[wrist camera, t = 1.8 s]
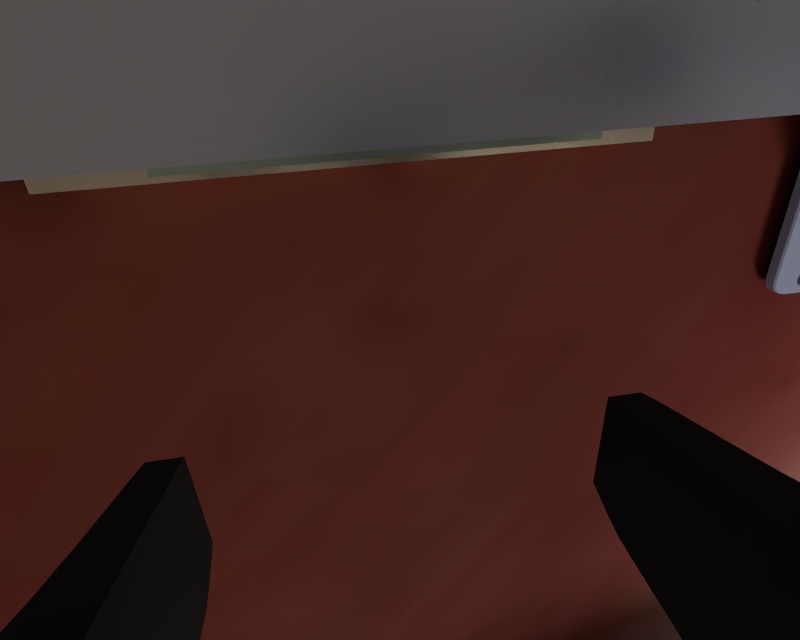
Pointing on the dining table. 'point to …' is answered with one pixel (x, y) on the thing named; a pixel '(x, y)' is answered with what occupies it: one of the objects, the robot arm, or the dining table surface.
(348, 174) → the dining table surface
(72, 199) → the dining table surface
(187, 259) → the dining table surface
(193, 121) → the grey unit
